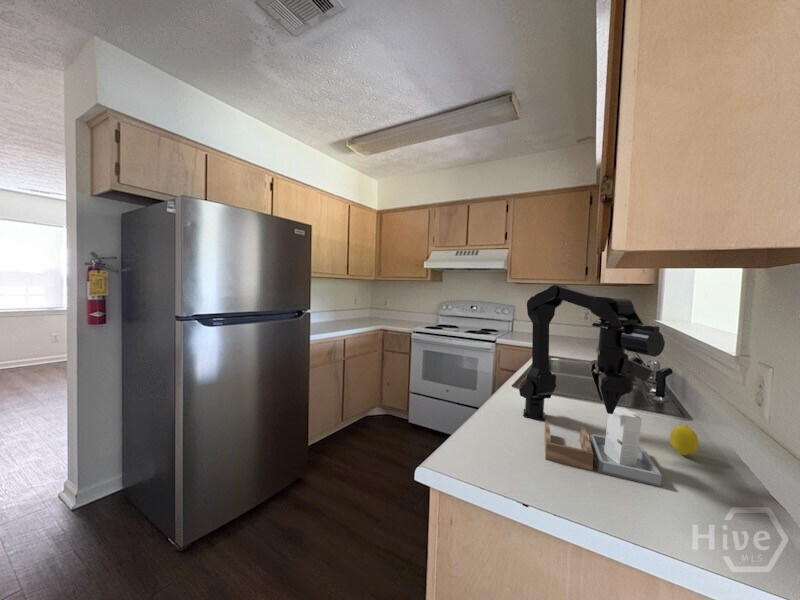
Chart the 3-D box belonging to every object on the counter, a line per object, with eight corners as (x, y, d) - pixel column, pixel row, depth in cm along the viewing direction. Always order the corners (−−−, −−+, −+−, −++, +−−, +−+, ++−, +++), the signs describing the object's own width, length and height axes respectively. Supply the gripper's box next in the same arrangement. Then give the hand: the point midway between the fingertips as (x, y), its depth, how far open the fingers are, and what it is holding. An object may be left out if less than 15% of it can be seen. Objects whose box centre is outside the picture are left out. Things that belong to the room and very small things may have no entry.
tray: (588, 442, 87) (589, 433, 87) (639, 453, 83) (640, 443, 83) (598, 472, 73) (599, 461, 73) (660, 487, 68) (661, 475, 68)
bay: (544, 433, 92) (545, 420, 92) (583, 441, 88) (584, 427, 88) (545, 459, 78) (546, 443, 78) (592, 470, 74) (593, 453, 74)
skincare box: (603, 452, 81) (606, 406, 80) (620, 453, 81) (623, 407, 81) (620, 466, 75) (623, 416, 74) (638, 467, 75) (642, 417, 74)
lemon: (670, 447, 86) (672, 419, 86) (697, 456, 82) (700, 426, 82) (667, 454, 83) (670, 424, 82) (696, 463, 79) (699, 432, 78)
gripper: (664, 359, 68) (657, 429, 69) (639, 344, 85) (633, 400, 86) (604, 352, 73) (598, 418, 74) (591, 339, 90) (587, 393, 91)
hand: (606, 406), depth 81 cm, fingers open, 9 cm apart
